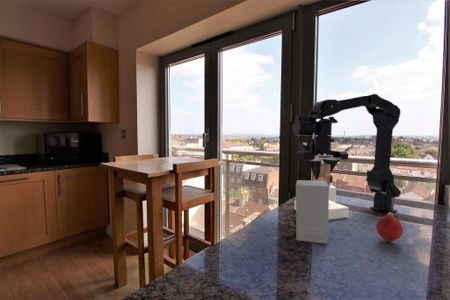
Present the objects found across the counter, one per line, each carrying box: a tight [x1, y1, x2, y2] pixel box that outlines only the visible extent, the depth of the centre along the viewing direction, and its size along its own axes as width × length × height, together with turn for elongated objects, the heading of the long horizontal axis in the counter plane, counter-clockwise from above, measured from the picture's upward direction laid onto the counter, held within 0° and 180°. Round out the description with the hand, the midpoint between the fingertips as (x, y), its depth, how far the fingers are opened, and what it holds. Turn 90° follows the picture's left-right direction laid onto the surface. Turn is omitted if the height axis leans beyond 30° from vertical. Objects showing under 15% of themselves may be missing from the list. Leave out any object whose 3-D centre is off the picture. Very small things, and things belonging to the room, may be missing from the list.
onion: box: [375, 212, 404, 243], centre depth 63 cm, size 6×6×8 cm
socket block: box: [293, 199, 350, 221], centre depth 86 cm, size 13×13×4 cm
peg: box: [312, 162, 331, 187], centre depth 85 cm, size 4×4×8 cm
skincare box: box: [295, 179, 329, 245], centre depth 64 cm, size 8×7×16 cm
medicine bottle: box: [329, 174, 337, 203], centre depth 101 cm, size 7×7×12 cm
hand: (321, 179), depth 85 cm, fingers closed on peg, 4 cm apart
